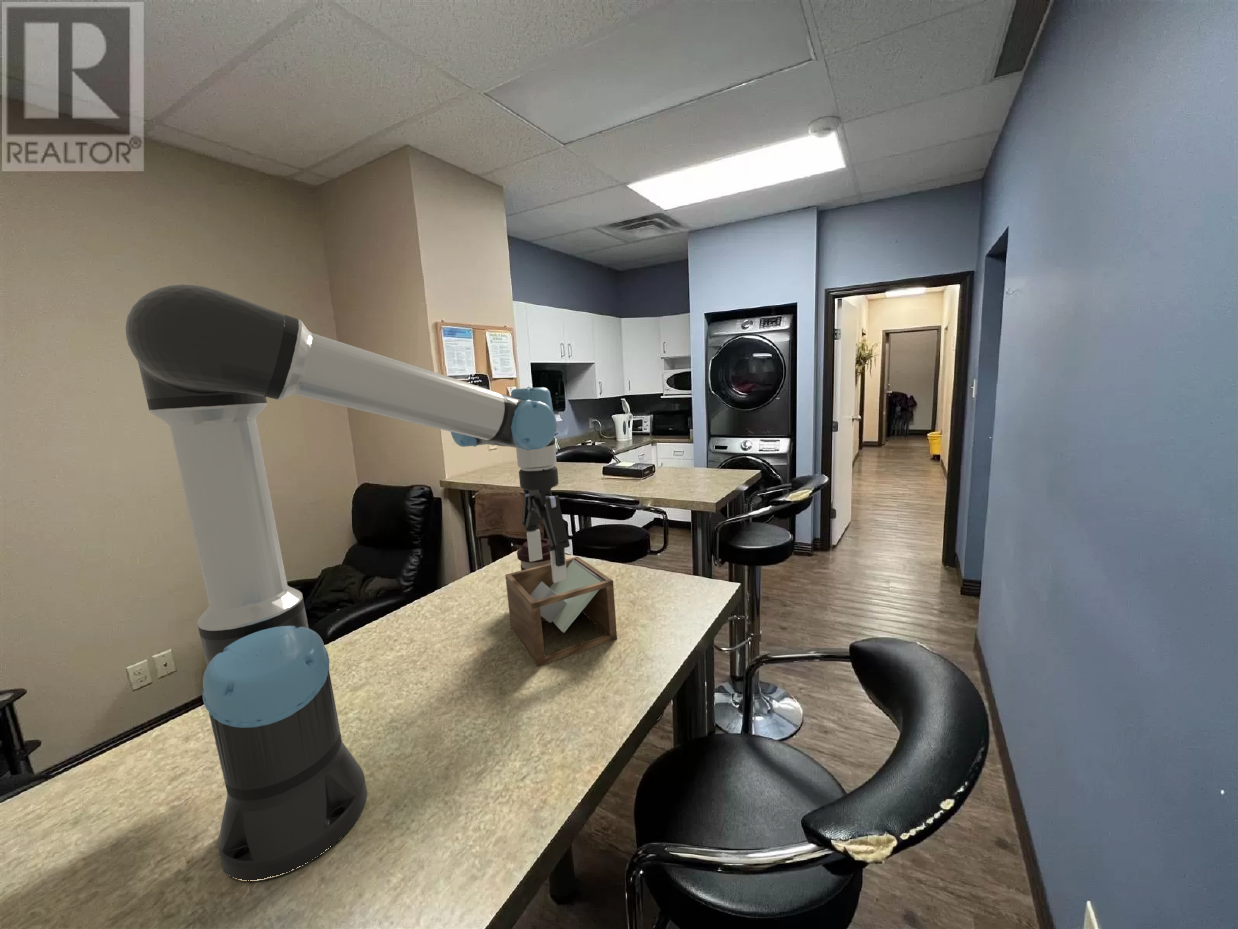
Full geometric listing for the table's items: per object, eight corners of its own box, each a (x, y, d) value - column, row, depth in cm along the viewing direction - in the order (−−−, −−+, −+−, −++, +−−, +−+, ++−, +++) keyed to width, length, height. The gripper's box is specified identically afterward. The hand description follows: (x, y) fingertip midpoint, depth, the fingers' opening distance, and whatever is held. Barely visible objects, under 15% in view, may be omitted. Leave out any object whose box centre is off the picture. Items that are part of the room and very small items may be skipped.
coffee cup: (571, 597, 118) (566, 538, 115) (544, 614, 110) (539, 552, 107) (541, 589, 123) (535, 534, 121) (513, 606, 115) (507, 546, 113)
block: (550, 623, 96) (533, 609, 94) (541, 613, 101) (525, 600, 99) (566, 603, 98) (550, 589, 96) (557, 594, 102) (541, 581, 100)
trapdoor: (564, 633, 93) (561, 630, 92) (538, 605, 105) (535, 603, 105) (605, 582, 96) (602, 579, 96) (576, 561, 109) (573, 558, 108)
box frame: (537, 666, 90) (531, 604, 87) (511, 628, 104) (505, 574, 102) (617, 638, 98) (613, 580, 95) (581, 607, 112) (577, 556, 110)
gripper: (582, 472, 85) (590, 585, 88) (534, 457, 106) (543, 549, 110) (542, 479, 81) (552, 596, 85) (501, 462, 103) (511, 556, 106)
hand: (547, 569), depth 97 cm, fingers open, 13 cm apart
